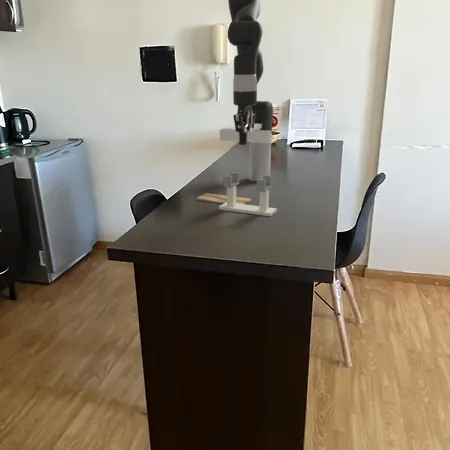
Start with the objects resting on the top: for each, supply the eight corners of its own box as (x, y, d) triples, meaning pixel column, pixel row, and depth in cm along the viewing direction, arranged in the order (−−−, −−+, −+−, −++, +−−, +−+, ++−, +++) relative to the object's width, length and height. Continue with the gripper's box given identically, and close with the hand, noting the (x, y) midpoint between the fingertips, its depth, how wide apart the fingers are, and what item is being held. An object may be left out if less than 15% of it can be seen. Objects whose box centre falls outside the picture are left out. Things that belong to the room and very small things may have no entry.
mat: (206, 194, 175) (205, 193, 174) (251, 200, 167) (251, 198, 167) (195, 200, 168) (195, 198, 168) (242, 206, 160) (242, 204, 160)
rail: (224, 138, 155) (223, 128, 153) (271, 141, 148) (271, 130, 147) (219, 140, 152) (219, 129, 150) (267, 143, 145) (267, 132, 144)
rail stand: (226, 204, 162) (226, 171, 158) (277, 211, 154) (278, 176, 150) (218, 209, 156) (217, 175, 152) (270, 216, 148) (271, 180, 144)
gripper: (242, 88, 152) (242, 139, 158) (225, 90, 140) (225, 146, 145) (263, 88, 149) (263, 140, 155) (247, 91, 137) (247, 148, 142)
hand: (245, 143), depth 150 cm, fingers closed on rail, 3 cm apart
